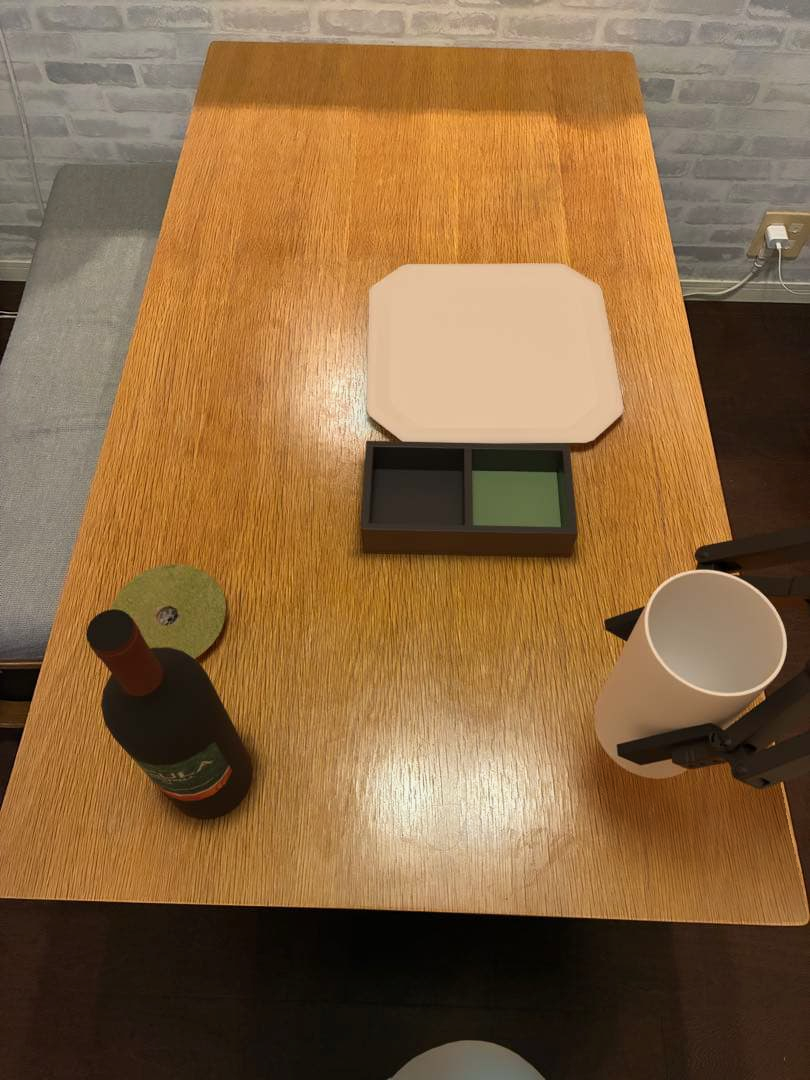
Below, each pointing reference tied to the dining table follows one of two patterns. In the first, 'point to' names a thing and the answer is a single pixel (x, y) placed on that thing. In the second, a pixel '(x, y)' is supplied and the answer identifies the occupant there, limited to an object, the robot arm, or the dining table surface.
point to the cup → (690, 663)
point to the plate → (491, 355)
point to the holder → (468, 499)
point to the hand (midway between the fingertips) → (622, 690)
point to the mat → (175, 607)
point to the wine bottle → (170, 719)
